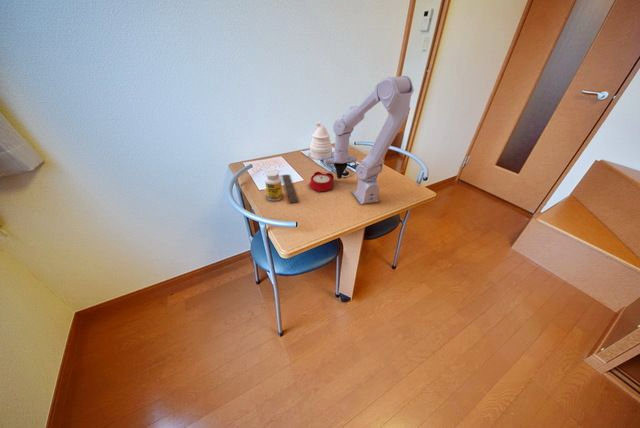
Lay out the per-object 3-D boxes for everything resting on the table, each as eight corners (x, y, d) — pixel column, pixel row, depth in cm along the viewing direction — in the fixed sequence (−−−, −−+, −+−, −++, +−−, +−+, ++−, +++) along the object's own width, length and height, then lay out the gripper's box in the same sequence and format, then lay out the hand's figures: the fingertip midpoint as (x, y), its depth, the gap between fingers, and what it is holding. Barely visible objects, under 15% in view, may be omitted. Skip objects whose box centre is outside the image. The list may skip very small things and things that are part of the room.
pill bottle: (268, 202, 88) (264, 177, 82) (266, 194, 93) (263, 170, 86) (283, 200, 90) (281, 175, 83) (281, 192, 94) (279, 168, 88)
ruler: (297, 202, 89) (297, 201, 88) (290, 203, 88) (290, 202, 88) (288, 175, 107) (288, 174, 107) (282, 176, 106) (282, 175, 106)
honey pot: (310, 159, 123) (310, 126, 112) (309, 150, 134) (309, 119, 123) (332, 159, 124) (335, 126, 113) (330, 150, 135) (331, 119, 124)
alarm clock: (306, 184, 93) (314, 163, 102) (307, 194, 98) (314, 173, 107) (330, 187, 92) (336, 165, 101) (330, 197, 96) (335, 176, 106)
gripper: (353, 144, 98) (350, 172, 106) (322, 146, 94) (321, 175, 103) (360, 150, 92) (356, 179, 101) (327, 152, 89) (325, 182, 97)
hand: (339, 177), depth 101 cm, fingers closed
